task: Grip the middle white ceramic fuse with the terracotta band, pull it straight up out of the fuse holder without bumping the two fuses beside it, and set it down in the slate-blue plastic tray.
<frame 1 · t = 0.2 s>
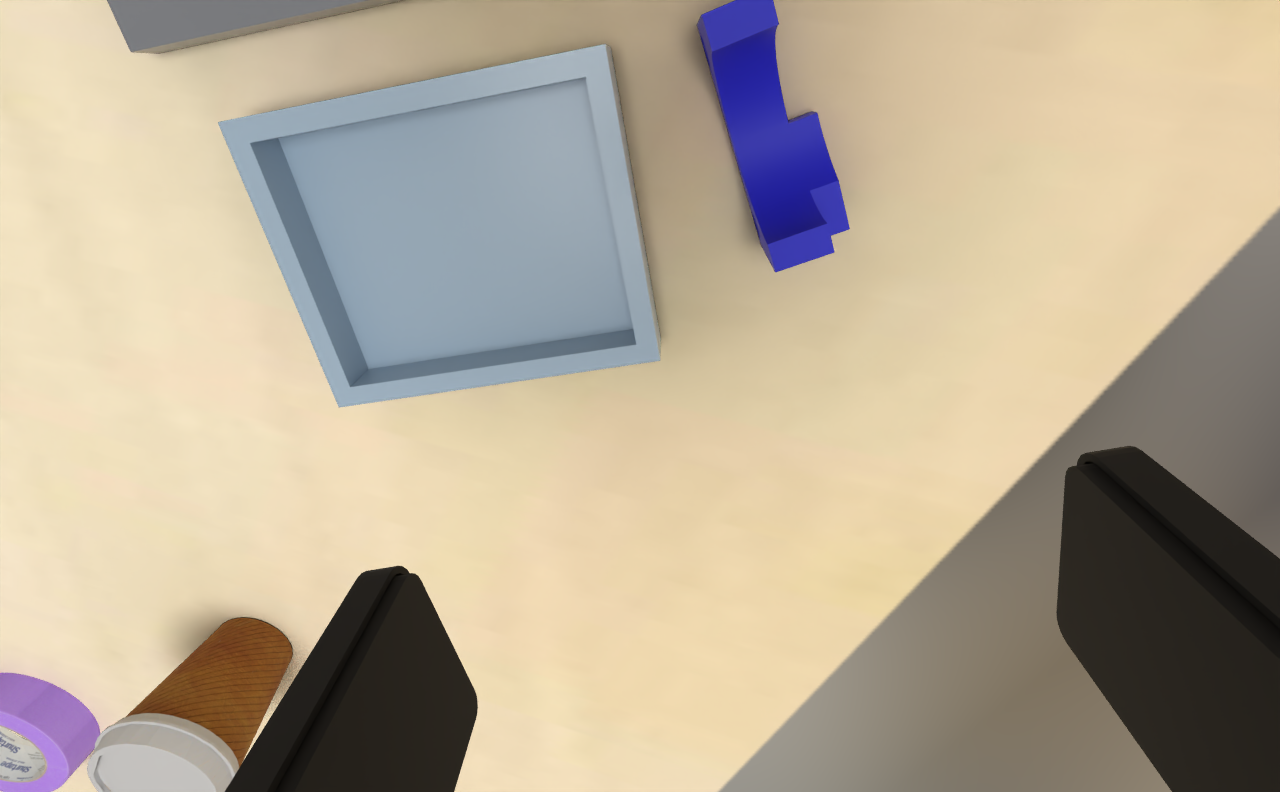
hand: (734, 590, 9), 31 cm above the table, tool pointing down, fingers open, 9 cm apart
tray: (471, 235, 38), on the table
masking tape: (38, 713, 60), on the table
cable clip: (770, 126, 35), on the table
disposable coffee cup: (256, 643, 54), on the table
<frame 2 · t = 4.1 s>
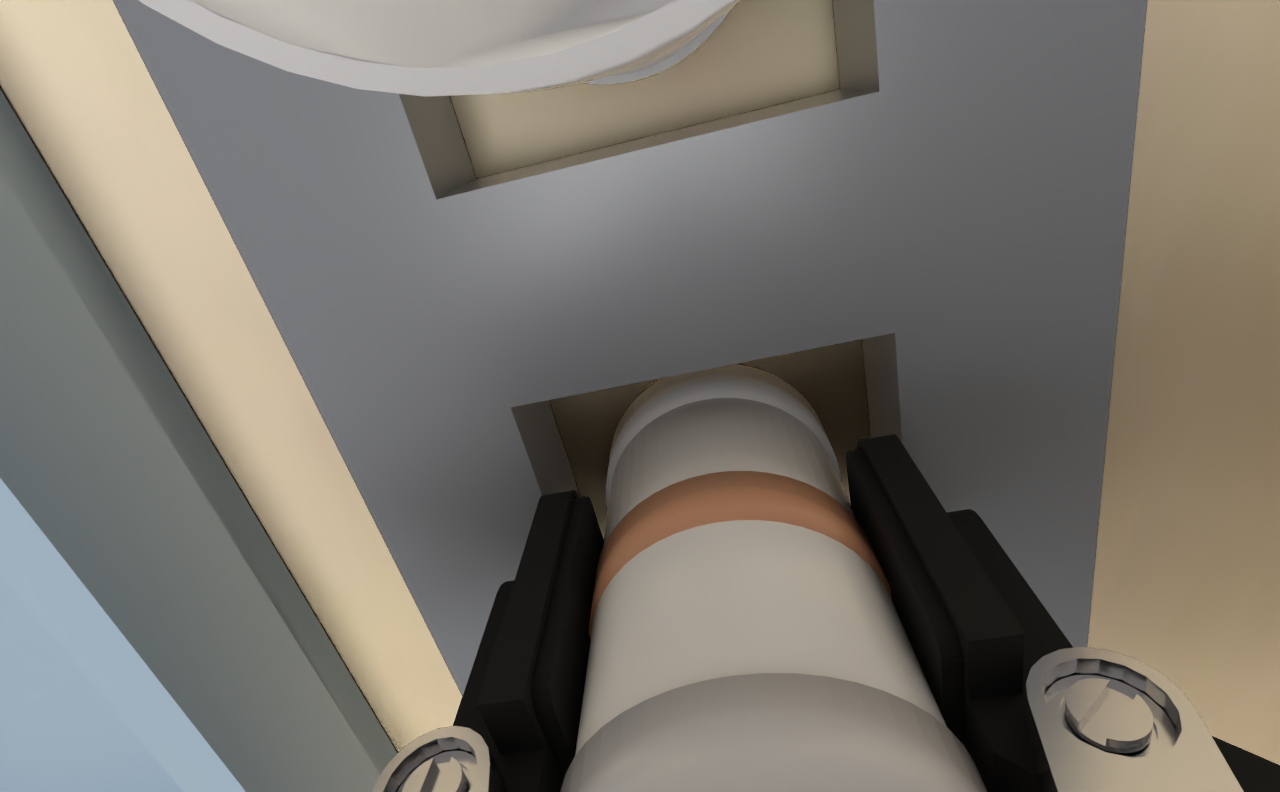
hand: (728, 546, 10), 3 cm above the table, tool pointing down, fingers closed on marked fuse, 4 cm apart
marked fuse: (738, 613, 9), in the fuse holder, touching gripper
fuse holder: (719, 462, 13), on the table
when the fingers open (5 cm above the table, at t = 11.1 s): marked fuse drops 1 cm, resting on tray.
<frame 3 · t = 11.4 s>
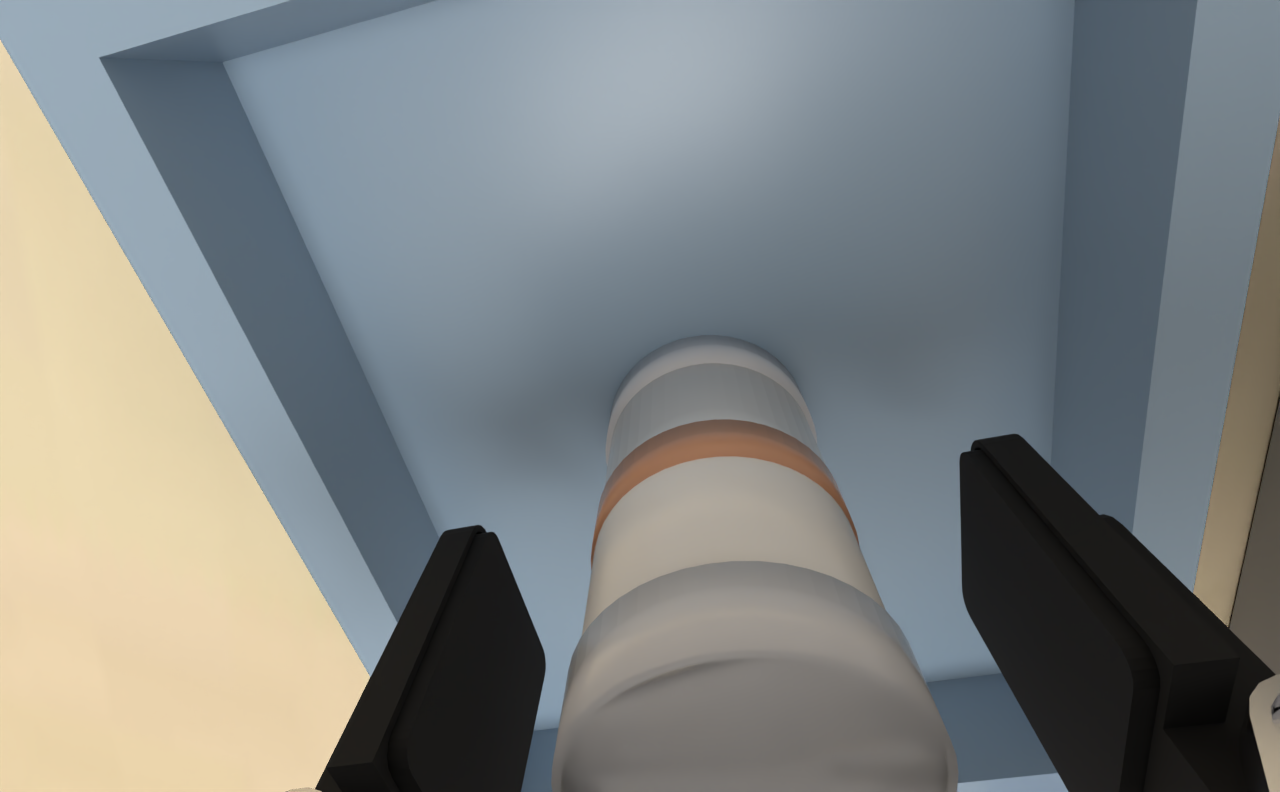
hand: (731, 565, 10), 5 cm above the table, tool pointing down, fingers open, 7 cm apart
tray: (710, 408, 15), on the table
marked fuse: (721, 546, 10), in the tray, point 5 cm above the table
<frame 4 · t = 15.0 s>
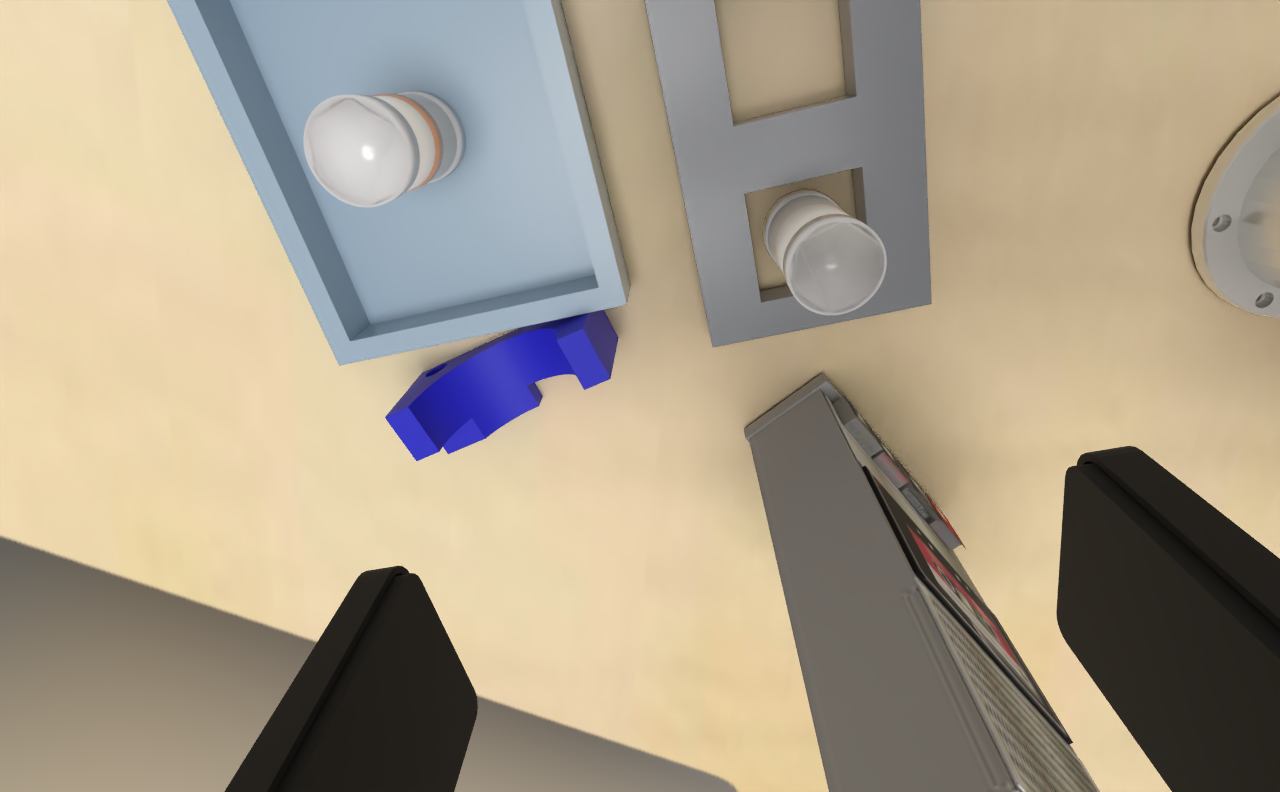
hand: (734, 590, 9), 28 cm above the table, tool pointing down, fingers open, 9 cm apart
tray: (432, 135, 33), on the table
fuse 1: (801, 229, 35), resting in fuse holder
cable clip: (525, 363, 39), on the table
marked fuse: (394, 144, 29), in the tray, point 5 cm above the table
fuse holder: (779, 45, 31), on the table
cassette tape recorder: (846, 469, 42), on the table
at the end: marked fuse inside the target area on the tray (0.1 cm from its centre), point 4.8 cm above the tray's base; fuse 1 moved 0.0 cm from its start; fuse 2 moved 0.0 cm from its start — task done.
